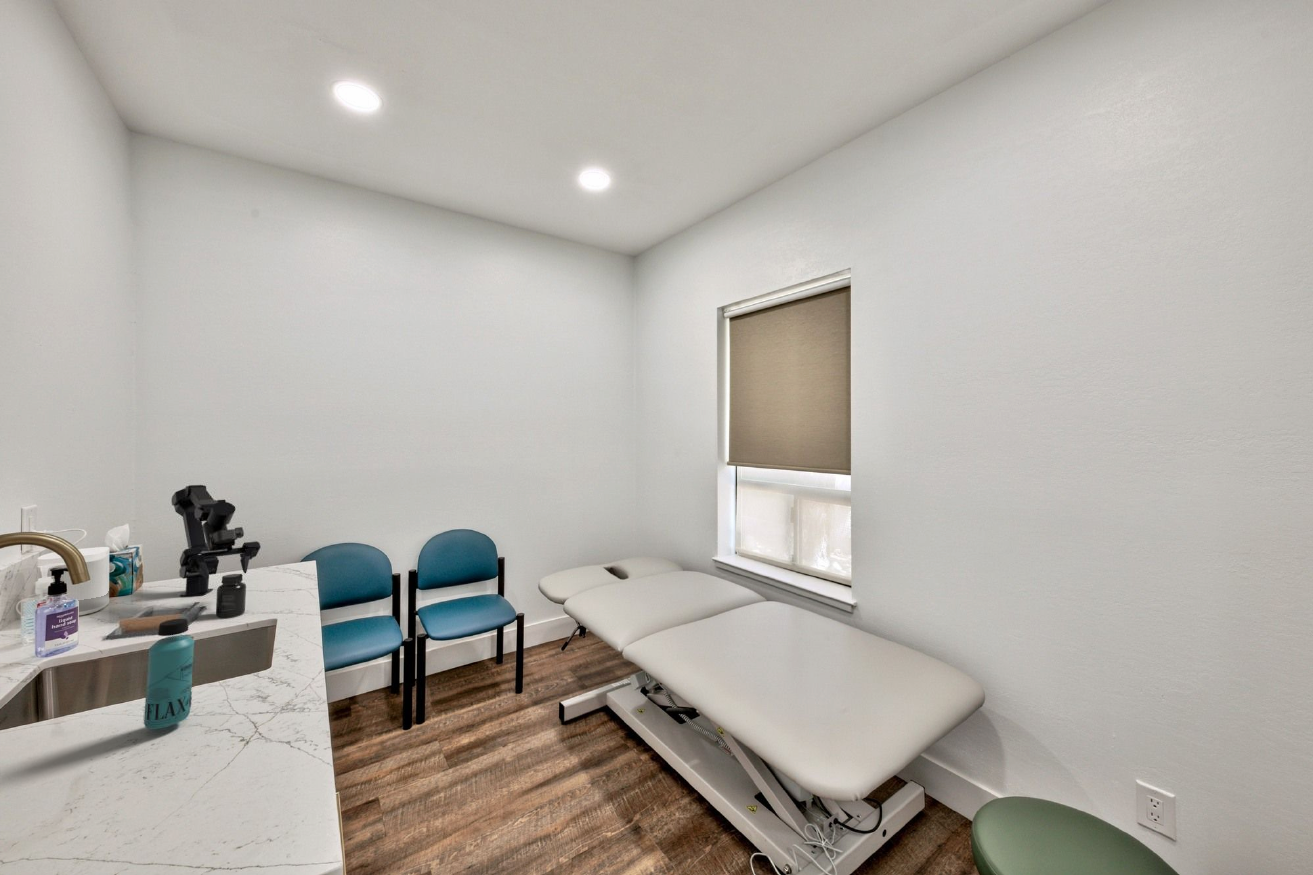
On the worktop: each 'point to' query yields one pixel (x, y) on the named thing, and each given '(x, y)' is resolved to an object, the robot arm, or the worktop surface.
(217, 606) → the supplement bottle
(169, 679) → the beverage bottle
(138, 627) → the rail plate
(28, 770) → the worktop surface
